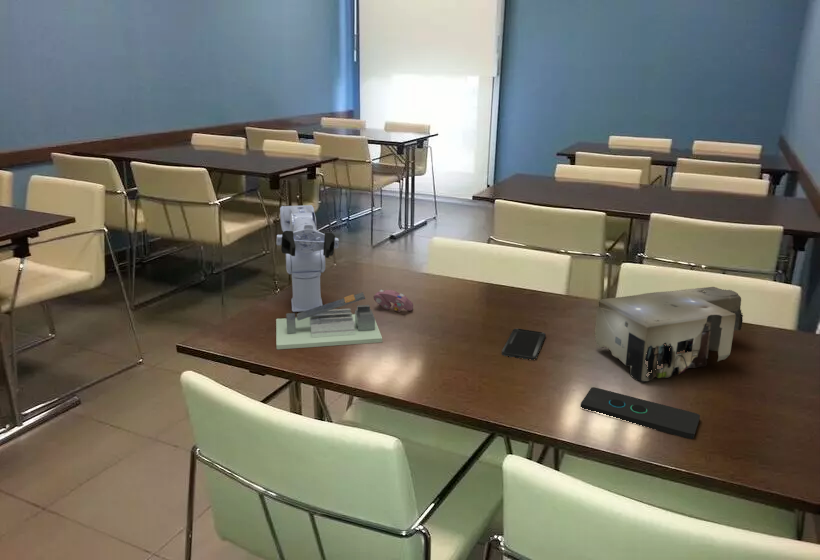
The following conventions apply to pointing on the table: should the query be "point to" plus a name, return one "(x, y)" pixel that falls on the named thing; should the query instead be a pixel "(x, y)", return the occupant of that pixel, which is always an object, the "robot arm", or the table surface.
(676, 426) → the smart home device
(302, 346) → the pale green board
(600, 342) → the grey boxy piece
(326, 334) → the heat sink
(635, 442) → the table surface
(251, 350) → the table surface
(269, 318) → the table surface
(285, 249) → the robot arm
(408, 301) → the pink plastic car shape
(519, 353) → the phone
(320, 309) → the bar
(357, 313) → the hinge and catch
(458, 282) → the table surface
